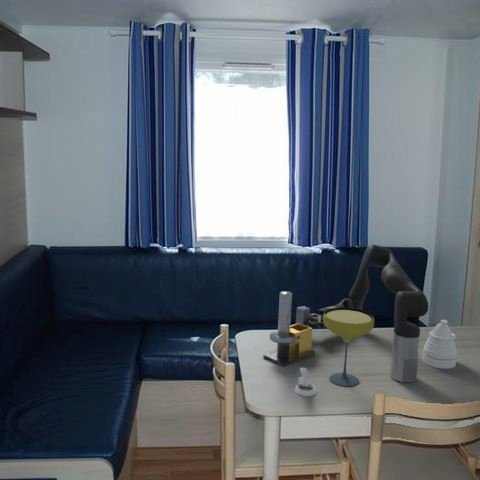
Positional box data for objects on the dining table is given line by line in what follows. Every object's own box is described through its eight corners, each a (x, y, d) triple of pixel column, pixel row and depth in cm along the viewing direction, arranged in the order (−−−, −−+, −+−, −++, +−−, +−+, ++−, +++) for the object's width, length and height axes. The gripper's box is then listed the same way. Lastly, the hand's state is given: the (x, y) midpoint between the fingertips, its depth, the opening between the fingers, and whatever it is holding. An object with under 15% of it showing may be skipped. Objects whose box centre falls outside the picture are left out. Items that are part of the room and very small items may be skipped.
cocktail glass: (373, 375, 206) (378, 312, 201) (363, 395, 190) (369, 327, 185) (326, 366, 213) (330, 304, 208) (313, 384, 197) (317, 318, 192)
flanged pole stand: (283, 366, 211) (286, 299, 206) (263, 357, 219) (265, 292, 214) (315, 354, 224) (319, 290, 218) (295, 346, 232) (298, 284, 226)
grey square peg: (301, 346, 232) (303, 310, 229) (294, 343, 235) (296, 307, 232) (308, 343, 235) (310, 308, 232) (301, 341, 238) (302, 305, 235)
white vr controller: (289, 385, 184) (289, 367, 189) (296, 403, 192) (295, 385, 197) (311, 383, 182) (310, 365, 187) (317, 401, 191) (316, 383, 195)
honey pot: (458, 370, 213) (463, 326, 210) (424, 366, 216) (428, 323, 212) (452, 357, 225) (457, 315, 222) (420, 354, 228) (424, 312, 224)
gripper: (316, 303, 249) (291, 310, 238) (341, 311, 239) (317, 319, 228) (315, 319, 250) (291, 326, 240) (340, 328, 240) (316, 336, 229)
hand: (303, 323), depth 234 cm, fingers open, 8 cm apart
